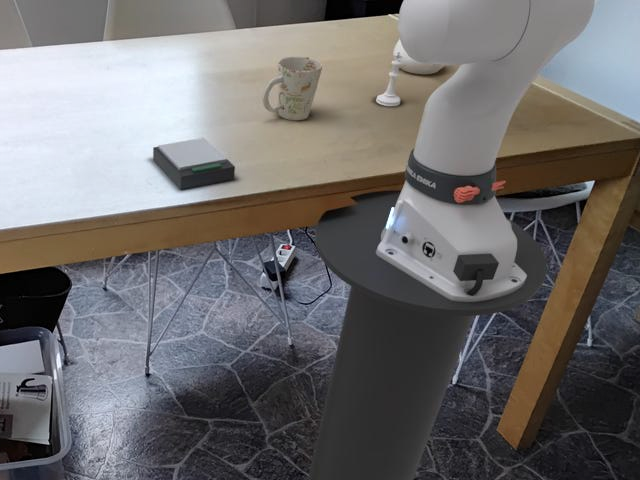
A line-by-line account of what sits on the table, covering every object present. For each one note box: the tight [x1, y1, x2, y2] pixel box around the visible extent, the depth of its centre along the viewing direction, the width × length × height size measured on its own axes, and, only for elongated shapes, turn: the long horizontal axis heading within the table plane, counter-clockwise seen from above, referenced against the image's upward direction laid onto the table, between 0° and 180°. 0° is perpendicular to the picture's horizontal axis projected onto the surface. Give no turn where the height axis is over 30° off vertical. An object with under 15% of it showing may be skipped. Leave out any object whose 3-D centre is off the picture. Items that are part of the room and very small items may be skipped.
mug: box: [262, 56, 323, 121], centre depth 141 cm, size 8×13×10 cm, turn 125°
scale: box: [152, 137, 236, 191], centre depth 126 cm, size 12×10×3 cm
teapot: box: [392, 38, 446, 75], centre depth 163 cm, size 20×12×10 cm, turn 10°
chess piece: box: [375, 52, 402, 107], centre depth 148 cm, size 5×5×10 cm
